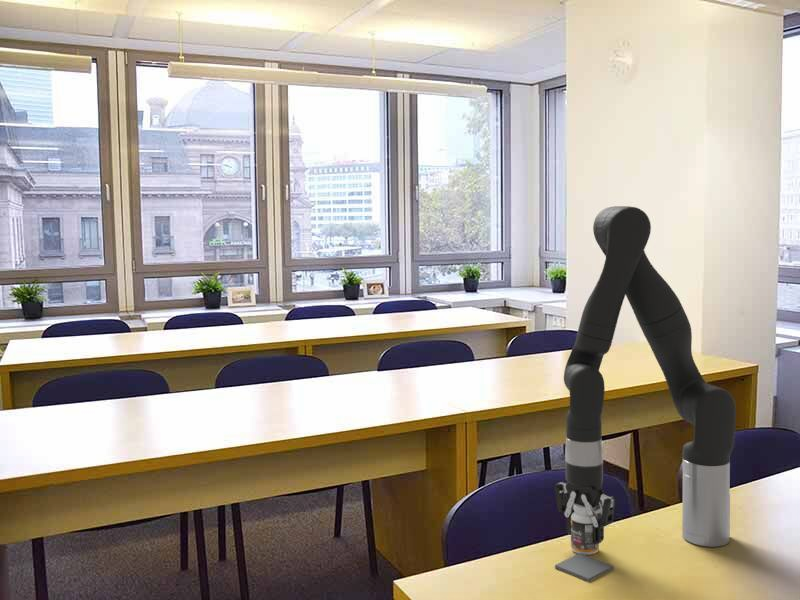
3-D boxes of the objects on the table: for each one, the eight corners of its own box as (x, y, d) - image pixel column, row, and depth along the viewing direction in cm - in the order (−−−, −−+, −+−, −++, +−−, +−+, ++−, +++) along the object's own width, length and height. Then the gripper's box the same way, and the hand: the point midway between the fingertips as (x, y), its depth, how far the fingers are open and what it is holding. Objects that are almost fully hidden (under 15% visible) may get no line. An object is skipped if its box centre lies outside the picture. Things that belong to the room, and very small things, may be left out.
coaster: (579, 555, 152) (579, 552, 152) (613, 568, 146) (613, 565, 146) (555, 567, 147) (554, 565, 147) (588, 581, 141) (588, 578, 141)
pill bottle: (565, 547, 156) (564, 501, 155) (587, 542, 158) (587, 497, 157) (582, 558, 151) (581, 510, 150) (605, 552, 153) (604, 505, 152)
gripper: (625, 462, 150) (625, 543, 151) (567, 448, 161) (567, 523, 162) (602, 471, 145) (603, 554, 146) (544, 455, 156) (545, 533, 157)
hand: (584, 538), depth 154 cm, fingers closed on pill bottle, 5 cm apart
